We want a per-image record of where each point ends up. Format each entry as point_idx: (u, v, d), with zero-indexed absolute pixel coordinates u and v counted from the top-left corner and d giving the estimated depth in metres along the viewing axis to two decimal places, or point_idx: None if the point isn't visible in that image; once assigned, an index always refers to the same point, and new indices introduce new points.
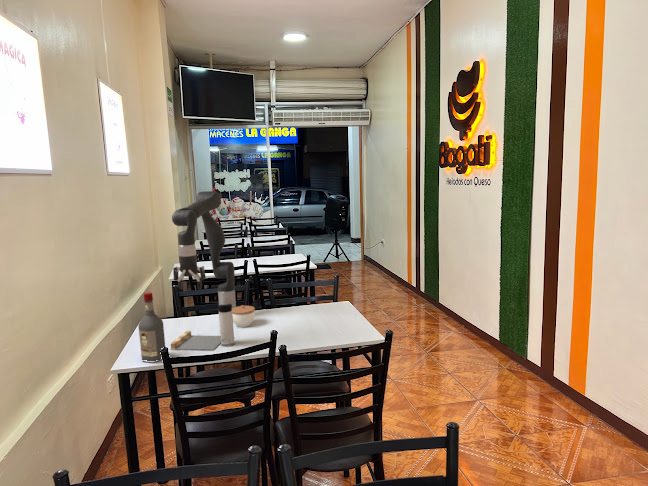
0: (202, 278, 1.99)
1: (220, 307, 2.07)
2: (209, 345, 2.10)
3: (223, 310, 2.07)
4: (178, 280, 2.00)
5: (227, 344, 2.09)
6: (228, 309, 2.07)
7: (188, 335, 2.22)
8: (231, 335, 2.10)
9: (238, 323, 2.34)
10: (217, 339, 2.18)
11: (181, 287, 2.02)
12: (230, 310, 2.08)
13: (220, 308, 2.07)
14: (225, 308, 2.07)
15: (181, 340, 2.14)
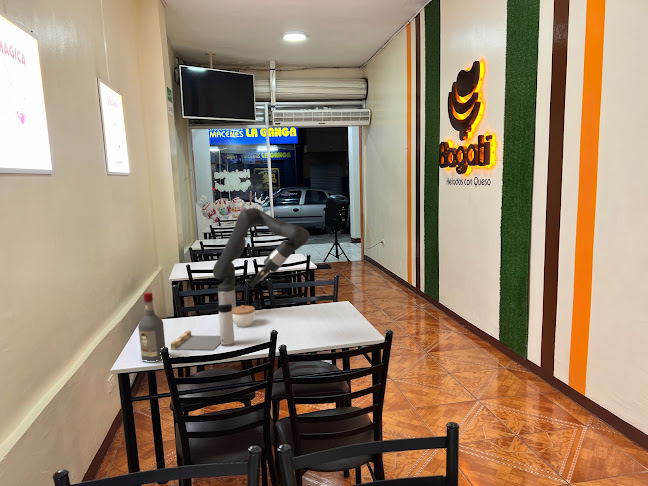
0: None
1: (220, 307, 2.07)
2: (209, 345, 2.10)
3: (223, 310, 2.07)
4: (258, 281, 2.05)
5: (227, 344, 2.09)
6: (228, 309, 2.07)
7: (188, 335, 2.22)
8: (231, 335, 2.10)
9: (238, 323, 2.34)
10: (217, 339, 2.18)
11: (253, 285, 2.06)
12: (230, 310, 2.08)
13: (220, 308, 2.07)
14: (225, 308, 2.07)
15: (181, 340, 2.14)
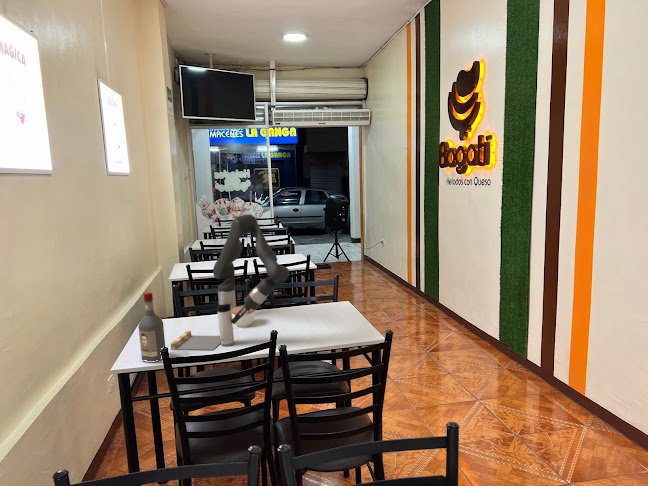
0: None
1: (218, 307, 2.07)
2: (209, 345, 2.10)
3: (222, 310, 2.07)
4: None
5: (227, 344, 2.09)
6: (226, 308, 2.08)
7: (188, 335, 2.22)
8: (231, 335, 2.10)
9: (238, 323, 2.34)
10: (217, 339, 2.18)
11: None
12: (228, 310, 2.08)
13: (218, 308, 2.07)
14: (223, 308, 2.07)
15: (181, 340, 2.14)
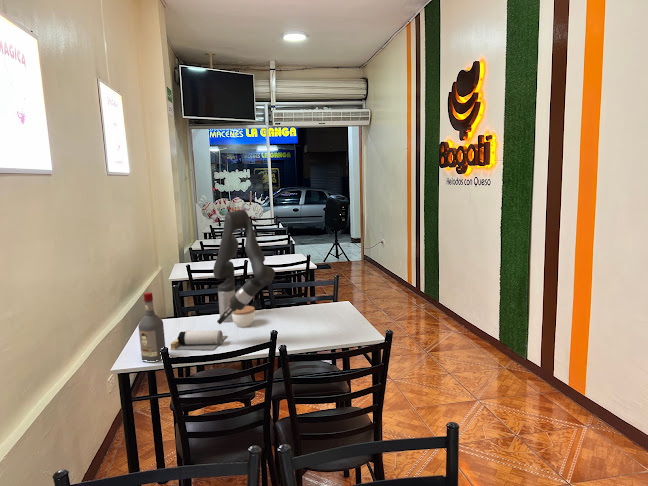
0: None
1: (180, 342, 2.10)
2: (209, 345, 2.10)
3: (182, 340, 2.10)
4: None
5: (217, 337, 2.09)
6: (182, 335, 2.10)
7: None
8: (209, 333, 2.10)
9: (238, 323, 2.34)
10: None
11: None
12: (184, 333, 2.11)
13: (181, 343, 2.10)
14: (180, 338, 2.10)
15: None
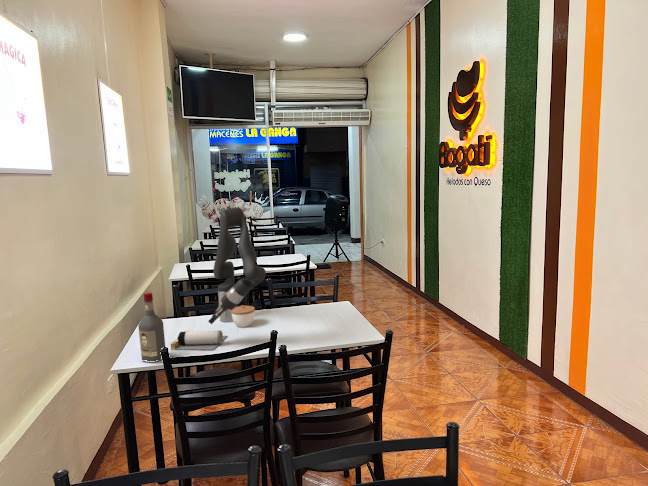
0: None
1: (180, 343, 2.10)
2: (209, 345, 2.10)
3: (182, 340, 2.09)
4: (217, 318, 2.10)
5: (217, 337, 2.09)
6: (182, 335, 2.10)
7: None
8: (209, 333, 2.10)
9: (238, 323, 2.34)
10: None
11: (212, 322, 2.11)
12: (184, 333, 2.11)
13: (181, 343, 2.10)
14: (180, 338, 2.10)
15: None
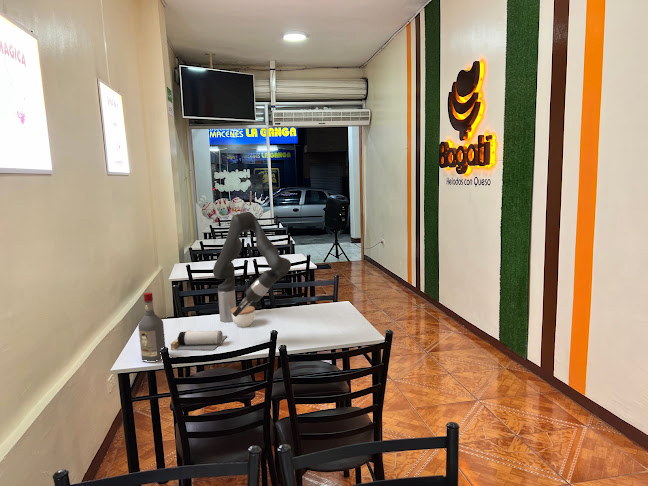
0: None
1: (180, 343, 2.10)
2: (209, 345, 2.10)
3: (182, 340, 2.09)
4: (241, 311, 2.07)
5: (217, 338, 2.09)
6: (181, 335, 2.10)
7: None
8: (209, 333, 2.10)
9: (238, 323, 2.34)
10: None
11: (236, 314, 2.09)
12: (184, 333, 2.11)
13: (181, 343, 2.10)
14: (180, 338, 2.09)
15: None
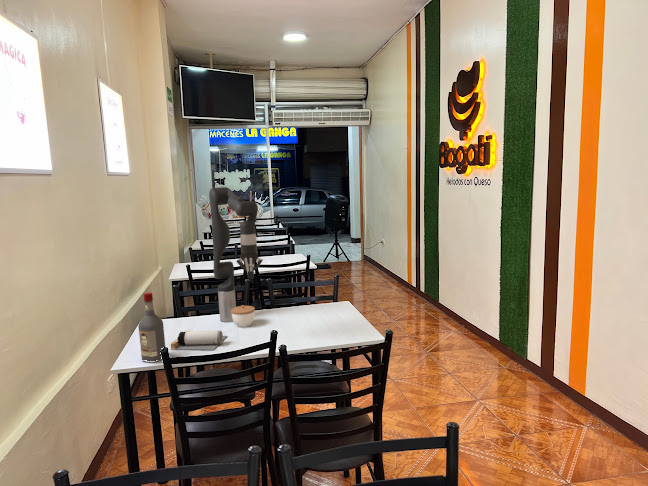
0: (255, 268, 2.11)
1: (180, 343, 2.10)
2: (209, 345, 2.10)
3: (182, 340, 2.09)
4: (247, 270, 2.11)
5: (217, 338, 2.09)
6: (181, 335, 2.10)
7: None
8: (209, 333, 2.10)
9: (238, 323, 2.34)
10: None
11: None
12: (184, 333, 2.10)
13: (181, 343, 2.10)
14: (180, 338, 2.09)
15: None
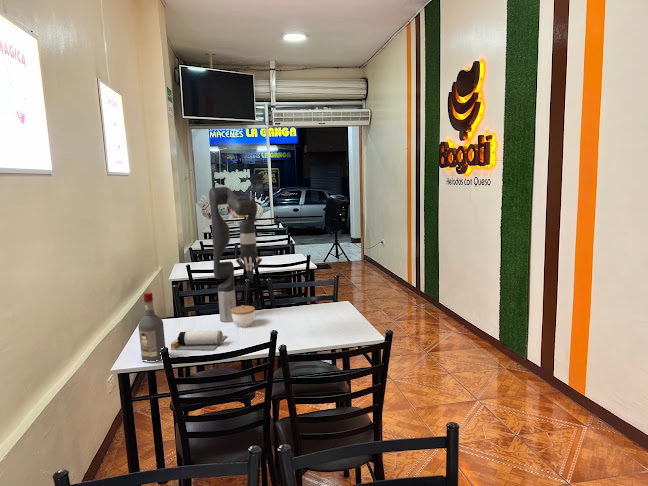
0: (254, 267, 2.11)
1: (180, 343, 2.10)
2: (209, 345, 2.10)
3: (182, 340, 2.09)
4: (247, 269, 2.11)
5: (217, 338, 2.09)
6: (181, 335, 2.10)
7: None
8: (209, 333, 2.10)
9: (238, 323, 2.34)
10: None
11: None
12: (184, 333, 2.10)
13: (181, 343, 2.10)
14: (180, 338, 2.09)
15: None
